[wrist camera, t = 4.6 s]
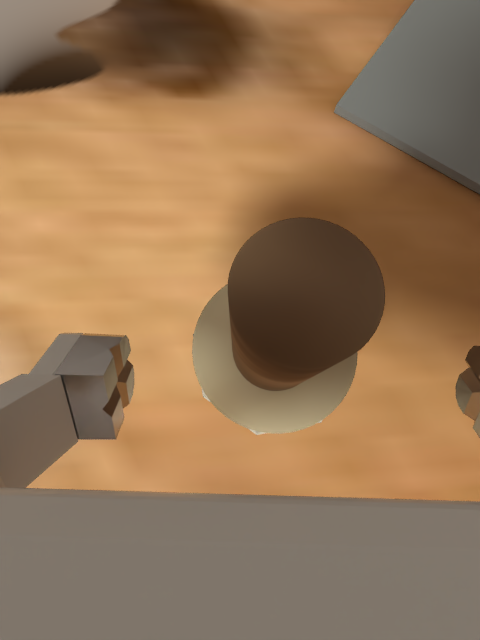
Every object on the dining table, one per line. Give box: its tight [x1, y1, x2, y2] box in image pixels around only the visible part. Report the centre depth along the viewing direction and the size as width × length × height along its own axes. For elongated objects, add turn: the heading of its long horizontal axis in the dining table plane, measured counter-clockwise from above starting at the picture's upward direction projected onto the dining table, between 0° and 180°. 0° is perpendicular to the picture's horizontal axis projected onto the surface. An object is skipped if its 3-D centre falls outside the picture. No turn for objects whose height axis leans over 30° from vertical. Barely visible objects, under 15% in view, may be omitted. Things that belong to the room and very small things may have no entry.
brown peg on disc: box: [192, 218, 385, 433], centre depth 12 cm, size 6×6×8 cm
